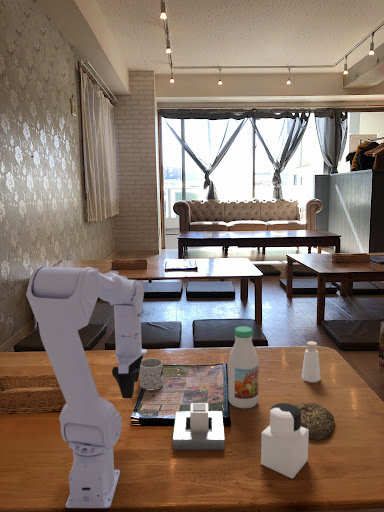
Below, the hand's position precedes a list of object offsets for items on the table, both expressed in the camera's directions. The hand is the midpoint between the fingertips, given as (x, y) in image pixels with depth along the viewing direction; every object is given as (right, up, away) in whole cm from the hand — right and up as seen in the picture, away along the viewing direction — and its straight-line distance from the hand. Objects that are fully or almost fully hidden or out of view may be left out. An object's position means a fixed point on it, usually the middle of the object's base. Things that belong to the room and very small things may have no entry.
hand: (130, 389), depth 93 cm
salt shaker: (+49, -6, +26) cm, 56 cm away
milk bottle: (+27, -8, +14) cm, 32 cm away
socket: (+16, -10, 0) cm, 19 cm away
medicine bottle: (+33, -12, -10) cm, 36 cm away
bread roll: (+42, -10, +4) cm, 43 cm away
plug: (+16, -10, 0) cm, 19 cm away
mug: (+2, -7, +25) cm, 26 cm away
